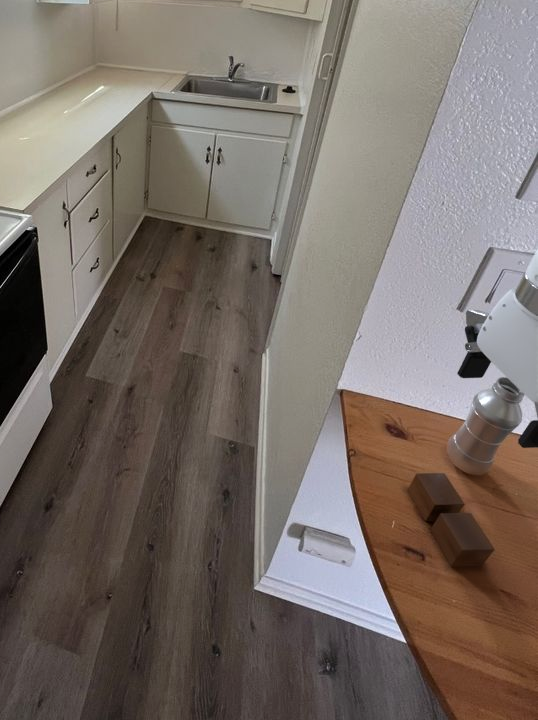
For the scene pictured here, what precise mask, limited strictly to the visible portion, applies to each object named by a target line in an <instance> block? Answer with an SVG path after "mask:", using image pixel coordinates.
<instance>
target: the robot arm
mask: <svg viewBox="0 0 538 720" xmlns="http://www.w3.org/2000/svg"><path fill="white" fill-rule="evenodd" d="M465 324H466V326H465V327H464V333H465V337H466V343H465V344H464V349H465V351H466V355H465V357H464V359H463V360H462V363H461V364H460V367H459V368H458V370H457V372H456V374H457V376H459V378H460V379H481V378H483V377H484V376H485V374H486V372H487V370H488V369H489V367H490V365H491V363H492V364H493V365H494V366H495V367H496V368H497V369H498V370H499V371H500V372H501V374H503V375H504V377H506V378H508V379H509V380H510V381H511V382H512V383H513V384H514V385H515V386H516V387H517V388H518V389H519V390H520V391H521V392H523V393H524V394H525V395H524V396H526V398H528V399H529V400H530V401H531V402H532V403H534V408H535V412H536V418H538V248H537V249H536V251H535V252H534V254H533V256H532V258H531V260H530V262H529V263H528V266H527V268H526V270H525V271H524V273H523V275H522V276H521V279H520V280H519V282H518V285H517V286H513V287H512V288H510V289H509V290H507V292H506V293H505V294H504V295H503V296H502V297H501V298H500V299H499V300H498V302H497V303H496V304H495V306H494V307H493V308H492V310H491V311H490V313H489V312H485V311H481V310H478V309H467V310H466V312H465ZM517 441H518V442H517V443H518V445H519V446H520V447H521V448H522V449H532V448H535V449H538V419H532V420H531V421H529V423H528V425H527V426H526V428H525V429H524V430H523V432H522V434H521V435H520V436H519V437H518V439H517Z"/></svg>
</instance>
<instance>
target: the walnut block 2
mask: <svg viewBox="0 0 538 720" xmlns="http://www.w3.org/2000/svg"><path fill="white" fill-rule="evenodd" d="M429 531H430V533H431V535H432V536H433V538H434V540H435V542H436V544H437V545H438V547H439V549H440V550H441V552H442V554H443V555H444V558H445V559H446V561H447V563H448V565H449V566H450V567H482V566H483V565H484V564H485V562H486V561H487V560H488V559H489V558H490V557H491V555H492V554H493V552H494V551H496V549H495V547H494V545H493V544H492V543H491V541H490V539H489V538H488V536H487V535H486V533H485V532H484V530H483V529H482V528H481V526H480V525H479V523H478V521H477V520H476V519H475V517H474V515H473V514H472V513H471V512H459V513H441V514H440V515H439V517H438V518H437V520H436V521H434V523H433V524H432V526H431V528H430V530H429Z"/></svg>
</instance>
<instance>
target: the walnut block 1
mask: <svg viewBox="0 0 538 720" xmlns="http://www.w3.org/2000/svg"><path fill="white" fill-rule="evenodd" d="M406 490H407V493H408V494H409V495H410V496H409V497H411V499H412V501H413V503H414V505H415V506H416V509H417V510H418V512H419V514H420V515H421V517H422V520H423V521H424V522H436V520H437V518H438V517H439V515H440V514H441V513H461V511H462V510H463V508H464V507H465V505H466V503H465V502H464V500H463V498H462V497H461V496H460V494H459V493H458V491H457V490H456V488H455V487H454V485H453V484H452V482H451V480H450V479H449V478H448V477H447V475H446V473H445V472H420V473H416V474H415V475H414V477H413V479H412V480H411V482H410V484H409V486H408V487H407V489H406Z"/></svg>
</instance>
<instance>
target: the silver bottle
mask: <svg viewBox="0 0 538 720" xmlns="http://www.w3.org/2000/svg"><path fill="white" fill-rule="evenodd" d="M525 396H526V395H525V394H524V393H523V392H521V391H520V390H519V389H518V388H517V387H516V386H515V385H514V384H513V383H512V382H511V381H510V380H509V379H508V378H507V377H506V376H500V377H498V378H497V379H496V381H495V382H494V383H493V384H492V386H491V388H486V389H482V390H480V391H478V392H477V393H476V394H475V395H474V396H473V398H472V401H471V404H470V408H469V412H468V414H467V416H466V418H465V420H464V422H463V424H462V425H461V426H460V428H459V429H458V430H457V431H456V432H454V433H453V435H452V436H451V437H450V438H449V439H448V441H447V445H446V453H447V456H448V458H449V460H450V461H451V462H452V464H453V465H454V466H455V467H456V468H457V469H459V470H460V471H462V472H463V473H466V474H469V475H474V476H481V475H484V474H487V473H488V471H490V470H492V469H491V468H492V467H493V464H494V461H495V457H496V454H497V452H498V450H499V447H500V446H501V444H502V443H503V442H504V441H505V440H506V438H507V437H508V436H509V435H510V434H511V433H512V432H513V431H514V430H515V429H516V428H517V427H519V425H520V424H521V423H522V421H523V412H522V407H521V405H520V404H521V403H522V401H523V399H524V397H525Z"/></svg>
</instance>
